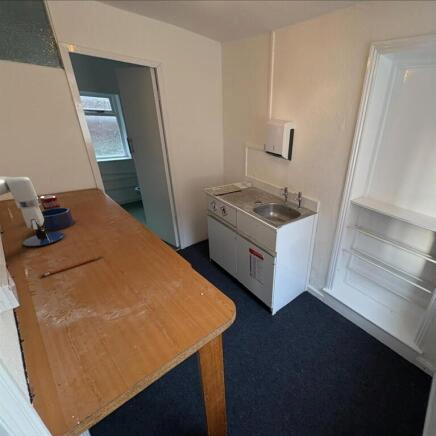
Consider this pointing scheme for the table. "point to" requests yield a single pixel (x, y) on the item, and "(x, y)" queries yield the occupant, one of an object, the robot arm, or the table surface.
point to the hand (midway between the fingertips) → (43, 236)
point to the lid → (39, 242)
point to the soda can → (49, 202)
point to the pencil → (69, 267)
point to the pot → (57, 218)
